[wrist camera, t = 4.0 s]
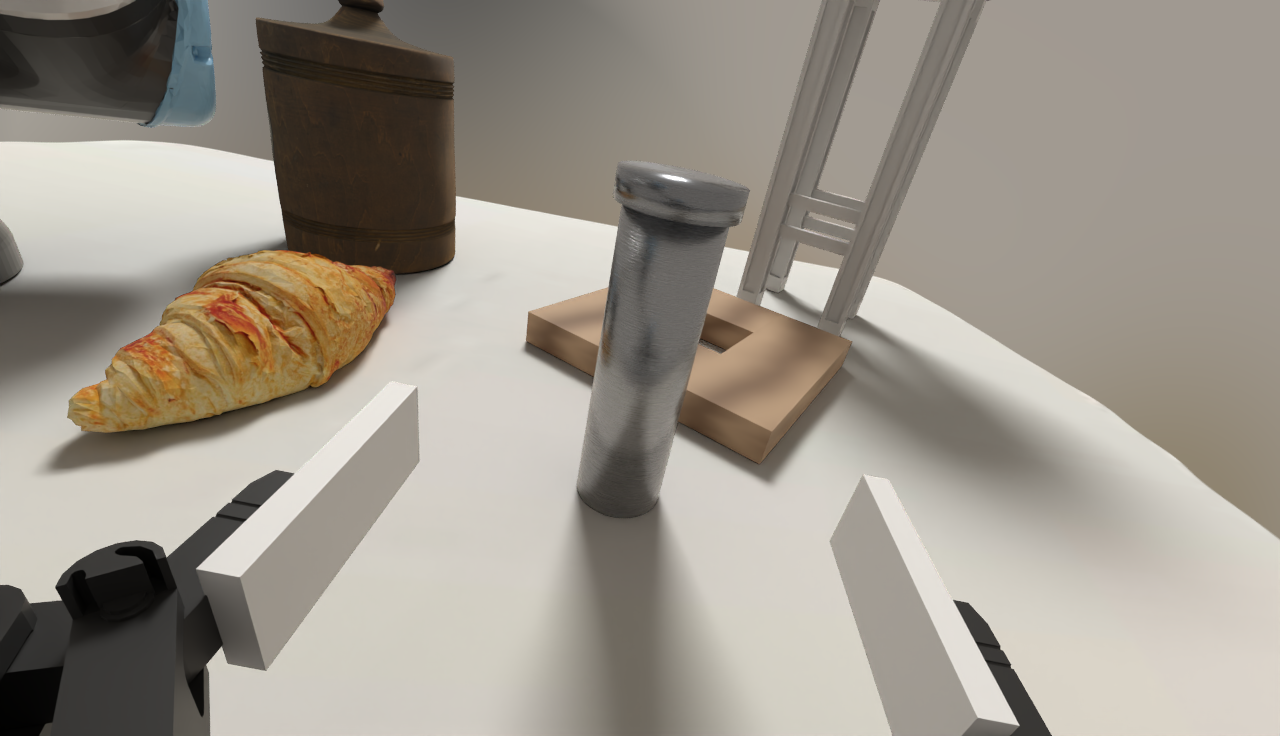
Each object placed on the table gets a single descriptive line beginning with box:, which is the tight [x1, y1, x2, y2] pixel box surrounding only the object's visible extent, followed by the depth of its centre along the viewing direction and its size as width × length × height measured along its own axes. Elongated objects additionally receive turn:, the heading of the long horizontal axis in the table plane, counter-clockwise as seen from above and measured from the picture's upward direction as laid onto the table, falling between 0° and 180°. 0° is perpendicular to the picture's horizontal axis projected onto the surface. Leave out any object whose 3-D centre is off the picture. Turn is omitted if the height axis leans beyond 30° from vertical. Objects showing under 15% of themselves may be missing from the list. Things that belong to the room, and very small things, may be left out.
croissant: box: [67, 250, 396, 433], centre depth 31 cm, size 21×10×8 cm, turn 168°
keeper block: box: [526, 288, 852, 464], centre depth 43 cm, size 20×20×2 cm
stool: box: [737, 0, 989, 336], centre depth 51 cm, size 16×16×35 cm
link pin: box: [577, 161, 750, 518], centre depth 24 cm, size 5×5×16 cm
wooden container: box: [256, 0, 456, 274], centre depth 46 cm, size 15×15×22 cm
